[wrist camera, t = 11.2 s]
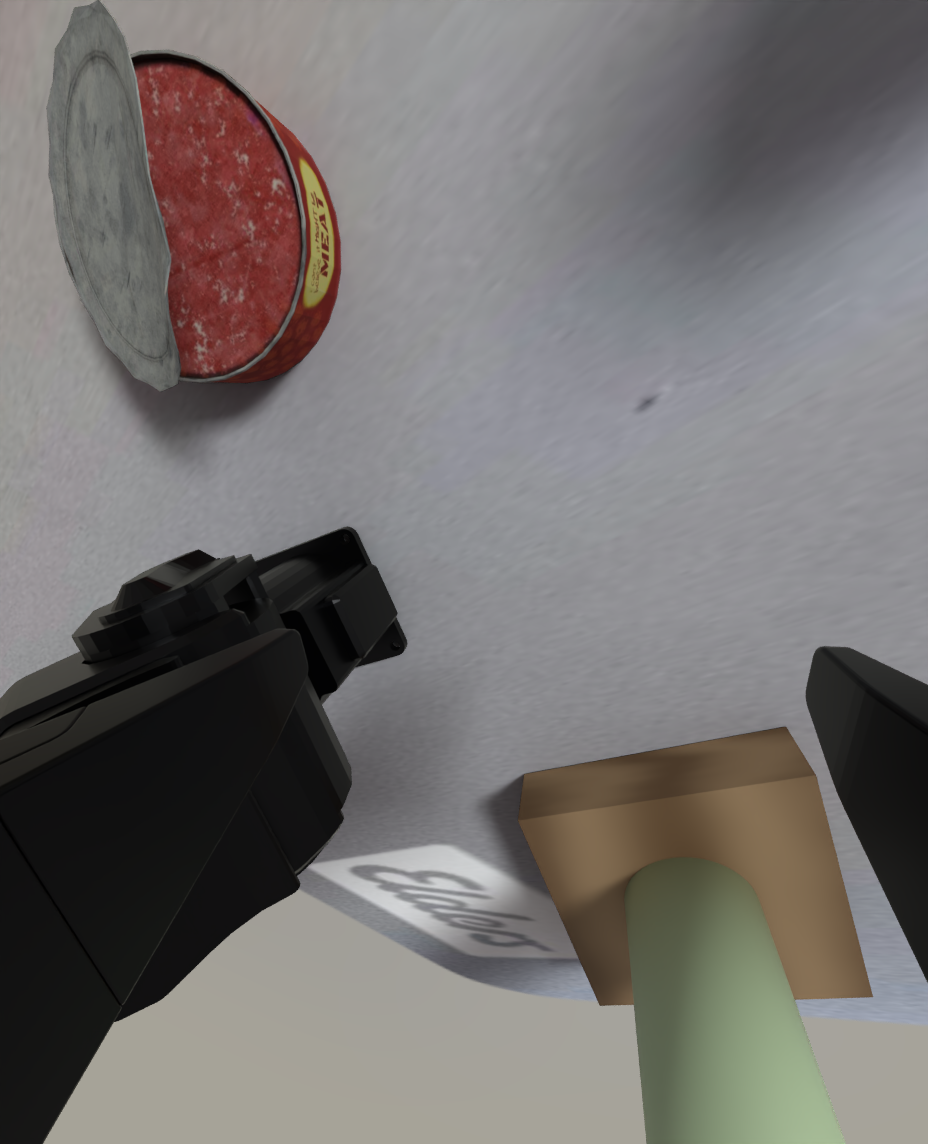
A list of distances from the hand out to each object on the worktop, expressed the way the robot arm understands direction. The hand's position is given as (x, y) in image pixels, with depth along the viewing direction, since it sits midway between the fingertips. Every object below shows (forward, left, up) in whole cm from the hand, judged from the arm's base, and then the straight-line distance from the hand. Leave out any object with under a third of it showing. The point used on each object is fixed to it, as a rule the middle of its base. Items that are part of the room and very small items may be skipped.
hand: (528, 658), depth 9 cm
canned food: (-9, +14, -13) cm, 21 cm away
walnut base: (0, -18, -13) cm, 22 cm away
